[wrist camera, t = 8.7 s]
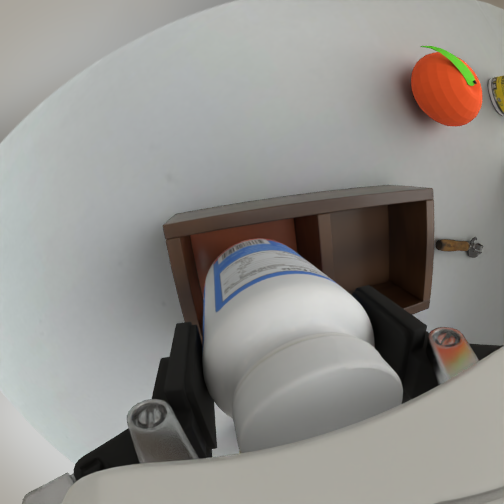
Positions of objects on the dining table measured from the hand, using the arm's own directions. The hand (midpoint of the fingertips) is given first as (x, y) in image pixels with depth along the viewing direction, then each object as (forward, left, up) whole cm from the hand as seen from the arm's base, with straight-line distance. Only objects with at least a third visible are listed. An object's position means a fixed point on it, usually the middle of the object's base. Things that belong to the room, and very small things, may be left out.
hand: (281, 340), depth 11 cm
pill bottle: (0, 0, -6) cm, 6 cm away
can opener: (+13, +19, -11) cm, 25 cm away
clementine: (-3, +23, -11) cm, 25 cm away
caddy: (+2, +4, -11) cm, 12 cm away
